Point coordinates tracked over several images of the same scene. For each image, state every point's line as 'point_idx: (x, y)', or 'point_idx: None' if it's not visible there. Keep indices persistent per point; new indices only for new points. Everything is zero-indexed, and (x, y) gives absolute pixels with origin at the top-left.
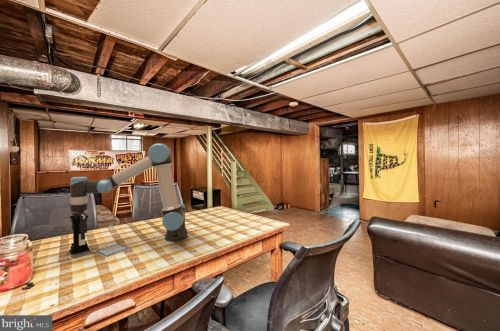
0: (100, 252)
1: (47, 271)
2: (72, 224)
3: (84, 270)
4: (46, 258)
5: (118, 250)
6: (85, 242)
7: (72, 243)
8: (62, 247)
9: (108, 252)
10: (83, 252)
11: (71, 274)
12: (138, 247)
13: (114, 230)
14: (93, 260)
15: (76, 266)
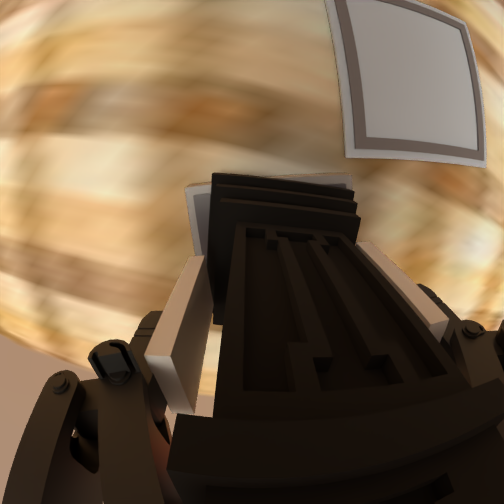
0: (422, 144)
1: None
2: (92, 497)
3: (501, 277)
4: (204, 372)
5: (460, 68)
6: (309, 222)
7: (220, 317)
8: (61, 284)
9: (450, 115)
10: None
11: (485, 314)
12: (469, 4)
13: (3, 4)
14: (470, 220)
15: (456, 293)
